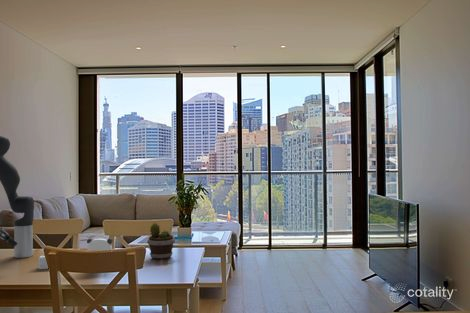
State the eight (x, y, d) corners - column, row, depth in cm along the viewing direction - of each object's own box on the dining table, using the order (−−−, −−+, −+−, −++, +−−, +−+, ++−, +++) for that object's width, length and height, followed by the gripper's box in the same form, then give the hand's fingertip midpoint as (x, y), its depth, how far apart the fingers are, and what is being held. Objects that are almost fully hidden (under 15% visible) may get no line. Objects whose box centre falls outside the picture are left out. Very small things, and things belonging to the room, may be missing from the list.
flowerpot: (177, 255, 240) (177, 219, 240) (171, 261, 224) (170, 222, 225) (152, 255, 241) (152, 219, 241) (143, 261, 226) (143, 222, 226)
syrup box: (38, 269, 209) (70, 267, 213) (38, 257, 209) (70, 255, 213) (39, 266, 214) (70, 264, 218) (39, 255, 214) (71, 253, 218)
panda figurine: (114, 266, 214) (114, 236, 214) (110, 272, 203) (110, 240, 203) (88, 267, 212) (88, 236, 213) (84, 273, 201) (84, 240, 201)
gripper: (-6, 216, 198) (24, 240, 204) (-8, 214, 209) (20, 237, 215) (-19, 229, 195) (11, 253, 201) (-21, 226, 206) (7, 249, 212)
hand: (15, 244), depth 208 cm, fingers closed
